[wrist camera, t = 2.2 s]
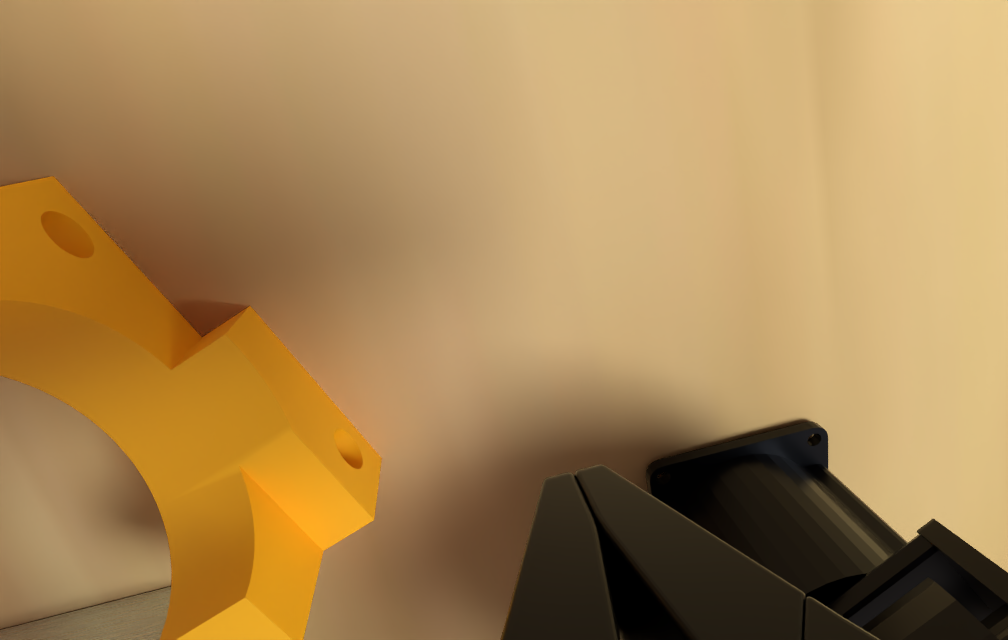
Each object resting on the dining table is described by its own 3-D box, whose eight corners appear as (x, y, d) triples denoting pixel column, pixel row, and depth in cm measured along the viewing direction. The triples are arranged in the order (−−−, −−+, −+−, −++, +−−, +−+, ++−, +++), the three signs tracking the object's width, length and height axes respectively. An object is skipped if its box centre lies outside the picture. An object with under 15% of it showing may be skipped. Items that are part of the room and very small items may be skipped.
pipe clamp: (382, 456, 20) (363, 611, 14) (276, 521, 20) (212, 700, 14) (108, 138, 16) (-91, 162, 10) (-19, 228, 16) (-288, 305, 10)
